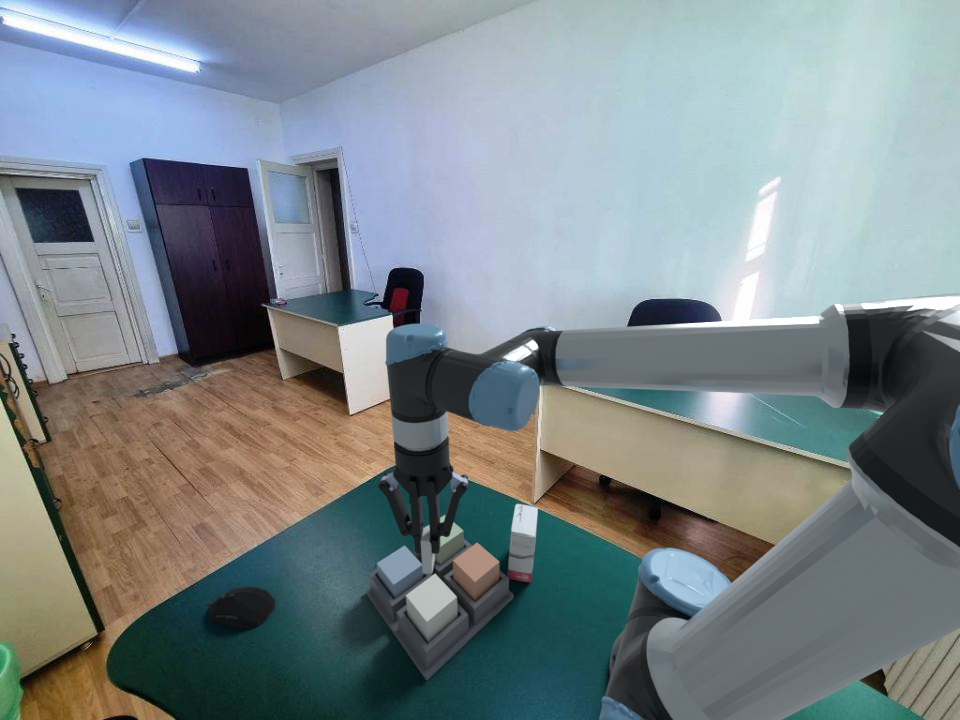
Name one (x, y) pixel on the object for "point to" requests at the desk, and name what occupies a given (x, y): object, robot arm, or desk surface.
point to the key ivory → (431, 607)
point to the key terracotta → (476, 571)
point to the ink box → (522, 542)
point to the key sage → (450, 544)
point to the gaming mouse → (242, 607)
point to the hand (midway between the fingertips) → (428, 566)
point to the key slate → (399, 572)
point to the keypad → (456, 633)
